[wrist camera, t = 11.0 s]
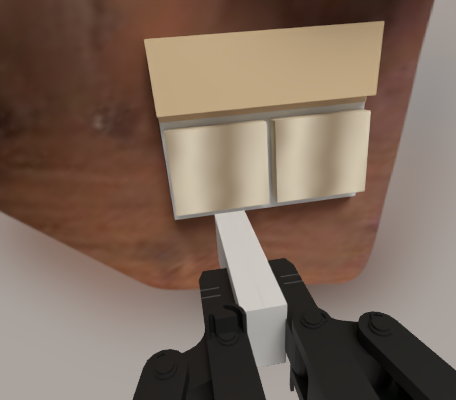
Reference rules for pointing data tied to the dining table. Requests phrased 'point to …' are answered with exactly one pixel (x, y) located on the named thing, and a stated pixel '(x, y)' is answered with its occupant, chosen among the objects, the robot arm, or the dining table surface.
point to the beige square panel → (319, 154)
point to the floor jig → (262, 79)
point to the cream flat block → (218, 166)
